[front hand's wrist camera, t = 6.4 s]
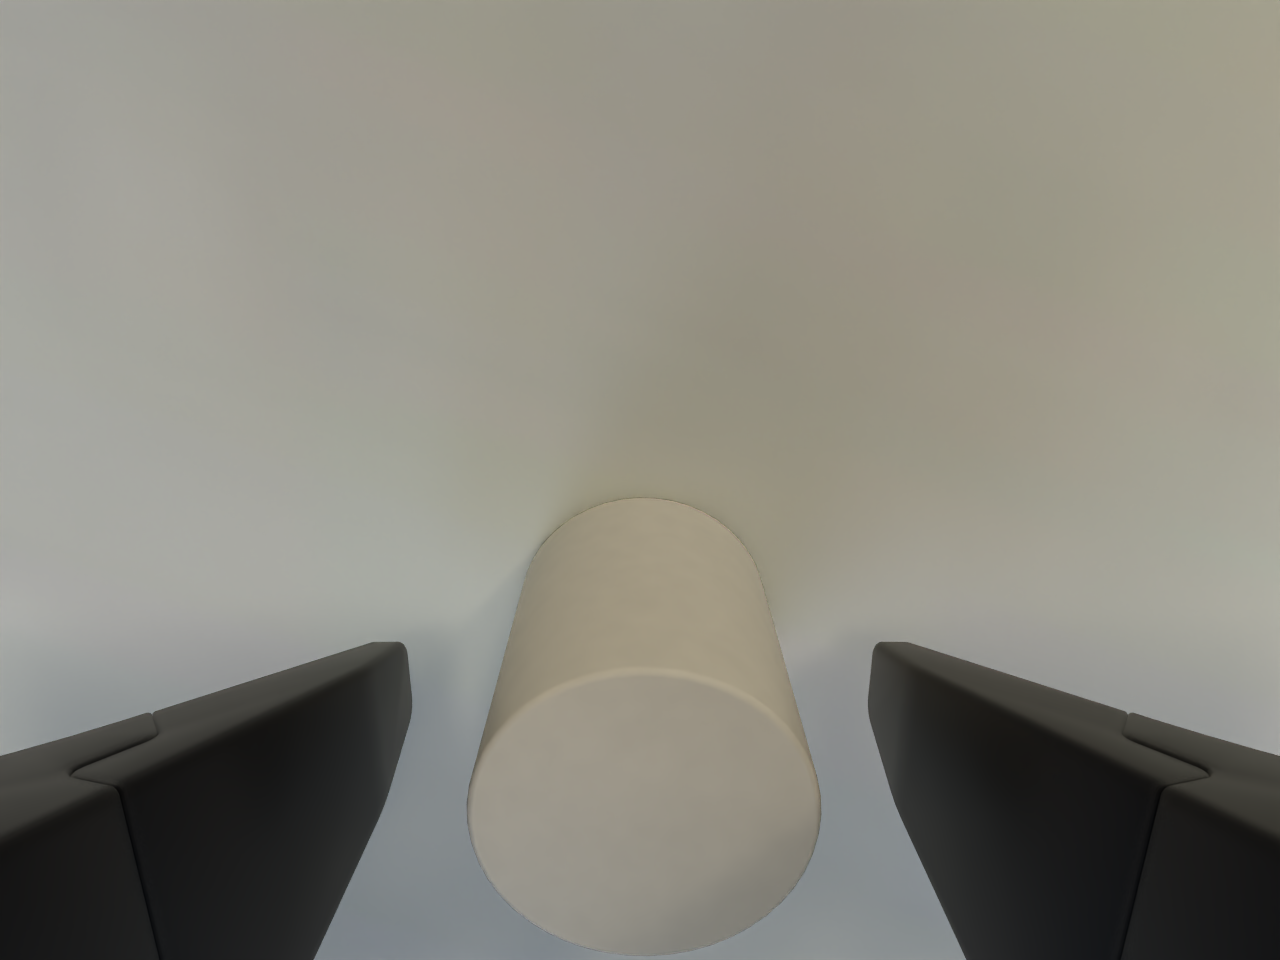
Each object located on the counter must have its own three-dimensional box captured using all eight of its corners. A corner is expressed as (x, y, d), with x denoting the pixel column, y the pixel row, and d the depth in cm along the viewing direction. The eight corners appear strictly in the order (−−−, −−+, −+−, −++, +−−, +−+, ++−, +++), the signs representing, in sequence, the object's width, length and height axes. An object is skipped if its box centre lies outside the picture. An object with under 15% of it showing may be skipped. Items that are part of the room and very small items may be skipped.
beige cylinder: (487, 533, 13) (410, 722, 8) (729, 466, 12) (776, 627, 8) (565, 736, 14) (533, 990, 10) (789, 679, 13) (856, 917, 9)
